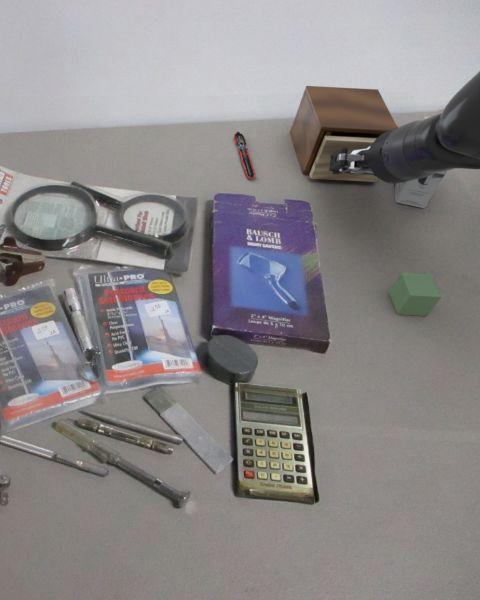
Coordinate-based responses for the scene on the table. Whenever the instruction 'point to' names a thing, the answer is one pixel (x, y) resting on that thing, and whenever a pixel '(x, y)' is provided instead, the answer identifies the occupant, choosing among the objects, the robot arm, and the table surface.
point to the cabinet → (336, 117)
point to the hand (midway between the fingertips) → (355, 168)
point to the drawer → (334, 143)
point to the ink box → (418, 189)
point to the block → (414, 294)
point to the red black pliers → (244, 155)
